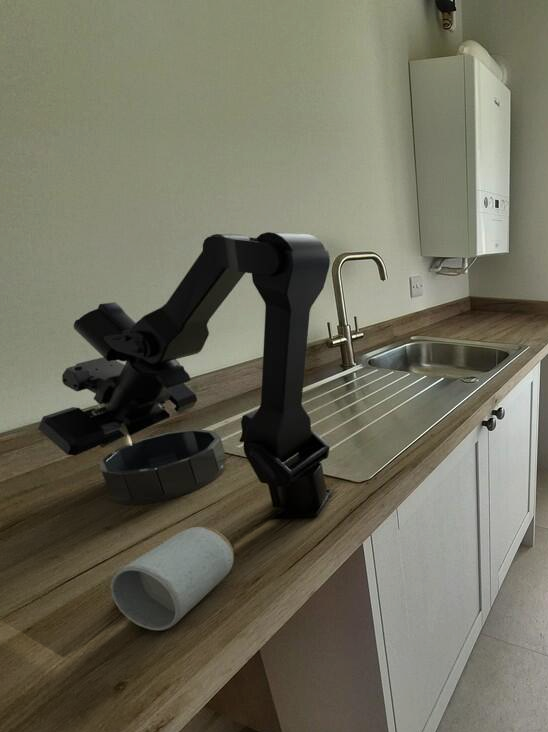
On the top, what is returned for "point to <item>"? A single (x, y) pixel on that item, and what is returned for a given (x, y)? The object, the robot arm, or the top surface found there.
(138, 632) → the top surface
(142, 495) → the grey faceted ring
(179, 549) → the pale grey cup
